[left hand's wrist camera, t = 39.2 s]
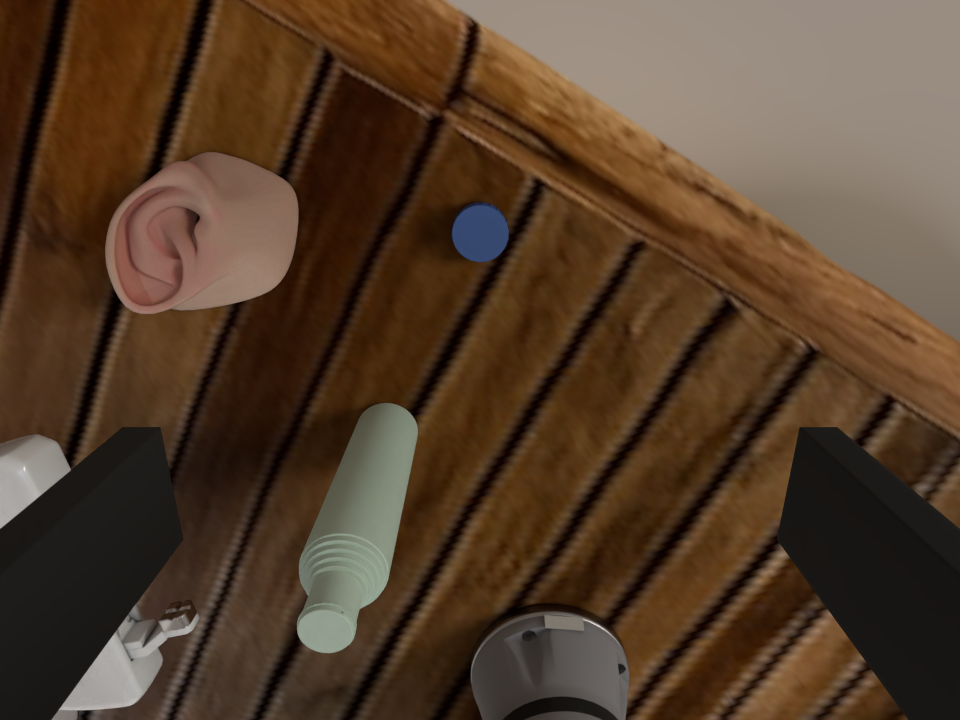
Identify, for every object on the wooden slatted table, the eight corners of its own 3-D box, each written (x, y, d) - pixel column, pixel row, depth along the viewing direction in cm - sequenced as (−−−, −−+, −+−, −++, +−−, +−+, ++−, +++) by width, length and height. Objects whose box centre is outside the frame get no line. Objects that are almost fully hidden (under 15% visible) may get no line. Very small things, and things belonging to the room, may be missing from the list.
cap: (505, 198, 45) (506, 201, 43) (510, 254, 46) (511, 259, 44) (449, 204, 45) (447, 207, 43) (456, 260, 46) (455, 265, 44)
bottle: (386, 468, 53) (325, 686, 32) (344, 427, 51) (252, 627, 31) (430, 433, 52) (397, 636, 31) (388, 391, 50) (324, 573, 29)
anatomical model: (273, 150, 40) (297, 320, 44) (291, 149, 43) (312, 305, 47) (70, 158, 40) (114, 326, 44) (105, 155, 44) (142, 311, 48)
